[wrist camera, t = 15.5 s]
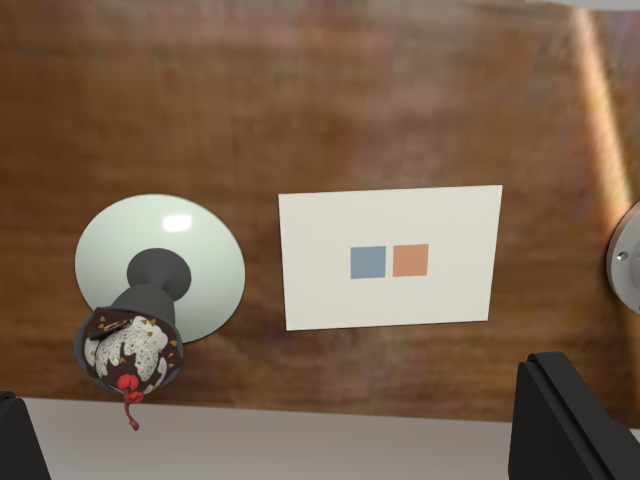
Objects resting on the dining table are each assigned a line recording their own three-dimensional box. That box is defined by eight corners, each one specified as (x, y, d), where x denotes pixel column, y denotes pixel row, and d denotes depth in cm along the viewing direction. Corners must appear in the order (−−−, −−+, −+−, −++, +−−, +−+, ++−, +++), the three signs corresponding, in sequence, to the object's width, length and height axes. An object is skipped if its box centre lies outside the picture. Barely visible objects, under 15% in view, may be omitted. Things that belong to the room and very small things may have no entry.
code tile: (501, 184, 43) (502, 185, 43) (486, 319, 48) (487, 320, 48) (278, 194, 43) (278, 195, 42) (286, 329, 48) (286, 330, 47)
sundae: (191, 321, 46) (155, 463, 32) (108, 299, 45) (34, 438, 31) (213, 252, 44) (184, 374, 30) (126, 226, 42) (54, 342, 29)
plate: (238, 189, 42) (237, 192, 42) (251, 335, 48) (250, 340, 47) (61, 196, 42) (58, 199, 41) (95, 343, 47) (92, 348, 47)
